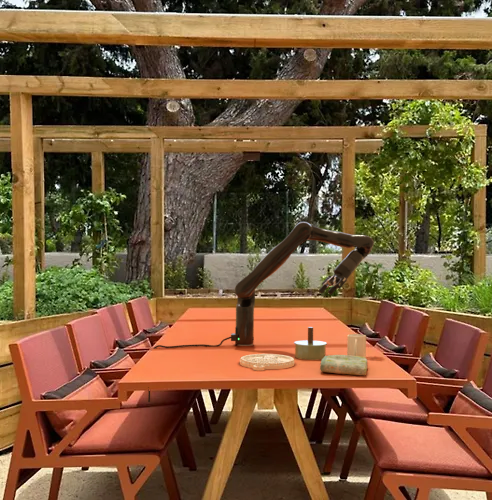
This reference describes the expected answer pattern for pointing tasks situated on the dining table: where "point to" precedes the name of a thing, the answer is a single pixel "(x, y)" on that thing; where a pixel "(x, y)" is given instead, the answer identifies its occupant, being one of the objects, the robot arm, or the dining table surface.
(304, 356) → the bowl
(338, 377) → the dining table surface
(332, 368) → the towel
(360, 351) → the mug
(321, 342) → the lid
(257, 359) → the medallion
